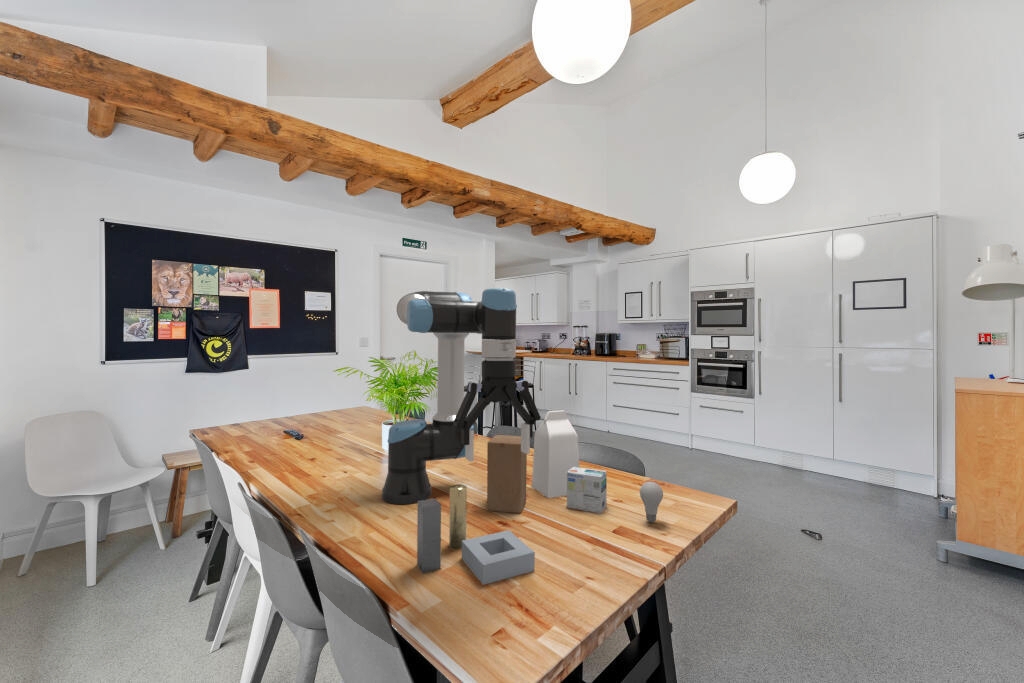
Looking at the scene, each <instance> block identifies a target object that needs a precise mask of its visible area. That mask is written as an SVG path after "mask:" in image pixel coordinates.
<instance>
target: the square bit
mask: <svg viewBox="0 0 1024 683" xmlns="http://www.w3.org/2000/svg"><path fill="white" fill-rule="evenodd" d="M416 515H417V520H416V522H417V525H416V526H417V532H416V533H417V535H416V536H417V538H416V541H417V543H416V546H417V547H416V553H417V554H416V563H417V564H416V565H417V567H418V569H419V571H420V572H421V574H427V573H430V572H434V571H438V570H442V569H441V566H442V565H441V560H442V558H441V556H442V555H441V553H442V552H441V550H442V545H441V544H442V535H441V533H442V504H441V502H440V501H439V500H438V499H436V498H430V499H429V498H427V499H426V500H421V501H418V502H417V514H416Z"/></svg>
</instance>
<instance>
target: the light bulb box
mask: <svg viewBox="0 0 1024 683" xmlns="http://www.w3.org/2000/svg"><path fill="white" fill-rule="evenodd" d="M607 477H608V476H607V470H601V469H595V468H594V469H593V468H583V467H579V468H578V467H572V468H571V469H570V470H569V471H568V472H567V495H566V508H567V509H575V510H579V511H585V512H591V513H597V514H602V513H603V512H604V511H605V509H606V507H607V501H608V500H607V481H608V480H607Z"/></svg>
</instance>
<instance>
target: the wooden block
mask: <svg viewBox="0 0 1024 683" xmlns="http://www.w3.org/2000/svg"><path fill="white" fill-rule="evenodd" d="M486 446H487V450H486V451H487V460H486V461H487V466H486V468H487V476H486V480H487V481H486V482H487V483H486V484H487V485H486V488H487V489H486V509H487V511H492V512H502V513H514V514H515V513H516V514H520V513H521V512H522V510H523V509H524V506H525V504H526V502H527V471H528V470H527V469H528V466H527V458H528V457H527V455H528V454H525V453H523V452H521V435H507V434H495V435H494V436H493V437H491V439H490V440H488V441H487V445H486Z"/></svg>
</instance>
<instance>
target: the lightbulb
mask: <svg viewBox="0 0 1024 683" xmlns="http://www.w3.org/2000/svg"><path fill="white" fill-rule="evenodd" d="M639 496H640V499H641V501H642V503H643V505H644V512H645V518H646V521H648V522H649V524H651V523H655V522H656V521H657V514H658V508H659V506H660V504H661V502H662V501H663V498H664V491H663V487H661V486H660V484H658V483H657V482H654V481H647V482H646V481H645V482H644V483H643V484H642V485H641V486H640V488H639Z"/></svg>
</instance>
